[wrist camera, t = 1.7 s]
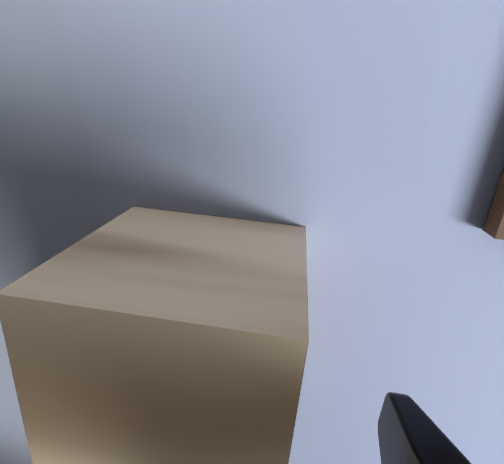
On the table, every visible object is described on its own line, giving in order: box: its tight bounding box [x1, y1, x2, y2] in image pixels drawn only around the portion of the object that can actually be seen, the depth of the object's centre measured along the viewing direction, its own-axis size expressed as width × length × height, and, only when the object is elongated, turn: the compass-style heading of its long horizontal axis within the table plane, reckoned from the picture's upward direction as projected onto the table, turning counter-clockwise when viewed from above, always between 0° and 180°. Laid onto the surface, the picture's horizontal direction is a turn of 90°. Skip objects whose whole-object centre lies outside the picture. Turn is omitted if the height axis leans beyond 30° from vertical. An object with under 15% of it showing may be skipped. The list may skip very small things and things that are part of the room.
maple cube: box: [0, 207, 309, 464], centre depth 9 cm, size 5×5×5 cm
